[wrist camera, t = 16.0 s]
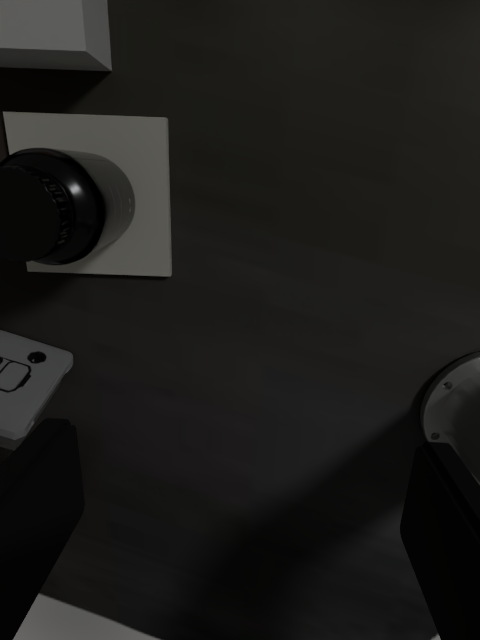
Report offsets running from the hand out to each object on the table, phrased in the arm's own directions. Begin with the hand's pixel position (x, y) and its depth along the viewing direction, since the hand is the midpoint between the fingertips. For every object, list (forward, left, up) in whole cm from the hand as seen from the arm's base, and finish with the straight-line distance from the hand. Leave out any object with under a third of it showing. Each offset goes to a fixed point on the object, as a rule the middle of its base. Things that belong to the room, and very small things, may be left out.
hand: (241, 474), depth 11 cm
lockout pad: (+5, +12, -25) cm, 28 cm away
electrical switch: (-10, +20, -25) cm, 33 cm away
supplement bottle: (+5, +12, -24) cm, 27 cm away
